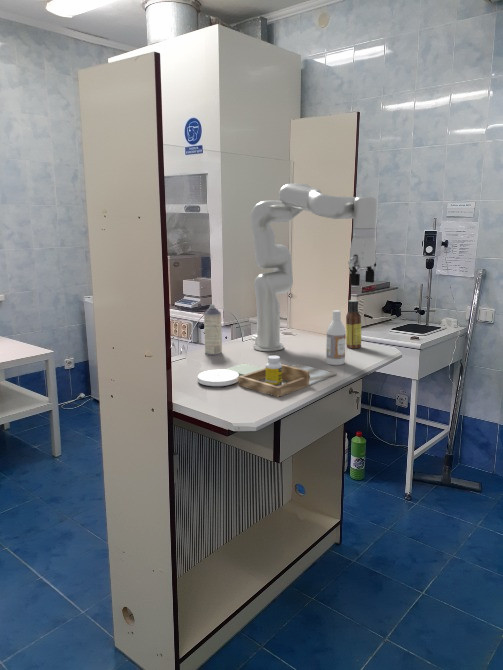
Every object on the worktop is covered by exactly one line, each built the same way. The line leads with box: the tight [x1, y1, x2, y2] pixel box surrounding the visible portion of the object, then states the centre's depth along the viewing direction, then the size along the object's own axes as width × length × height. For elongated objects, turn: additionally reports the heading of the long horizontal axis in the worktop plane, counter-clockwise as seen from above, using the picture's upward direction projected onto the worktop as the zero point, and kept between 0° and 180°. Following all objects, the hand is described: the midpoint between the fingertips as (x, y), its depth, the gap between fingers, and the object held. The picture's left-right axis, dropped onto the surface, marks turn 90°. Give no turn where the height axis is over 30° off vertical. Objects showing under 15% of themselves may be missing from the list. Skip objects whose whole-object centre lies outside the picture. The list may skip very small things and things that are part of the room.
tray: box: [225, 363, 265, 376], centre depth 191 cm, size 12×10×2 cm
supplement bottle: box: [265, 355, 283, 386], centre depth 177 cm, size 5×5×10 cm
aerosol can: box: [203, 304, 223, 357], centre depth 216 cm, size 7×7×20 cm
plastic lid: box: [197, 368, 239, 387], centre depth 183 cm, size 14×14×2 cm
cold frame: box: [238, 361, 337, 398], centre depth 183 cm, size 17×31×5 cm, turn 136°
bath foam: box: [325, 309, 346, 366], centre depth 200 cm, size 7×7×20 cm
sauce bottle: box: [345, 299, 362, 350], centre depth 223 cm, size 6×6×20 cm
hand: (362, 283), depth 188 cm, fingers open, 9 cm apart
